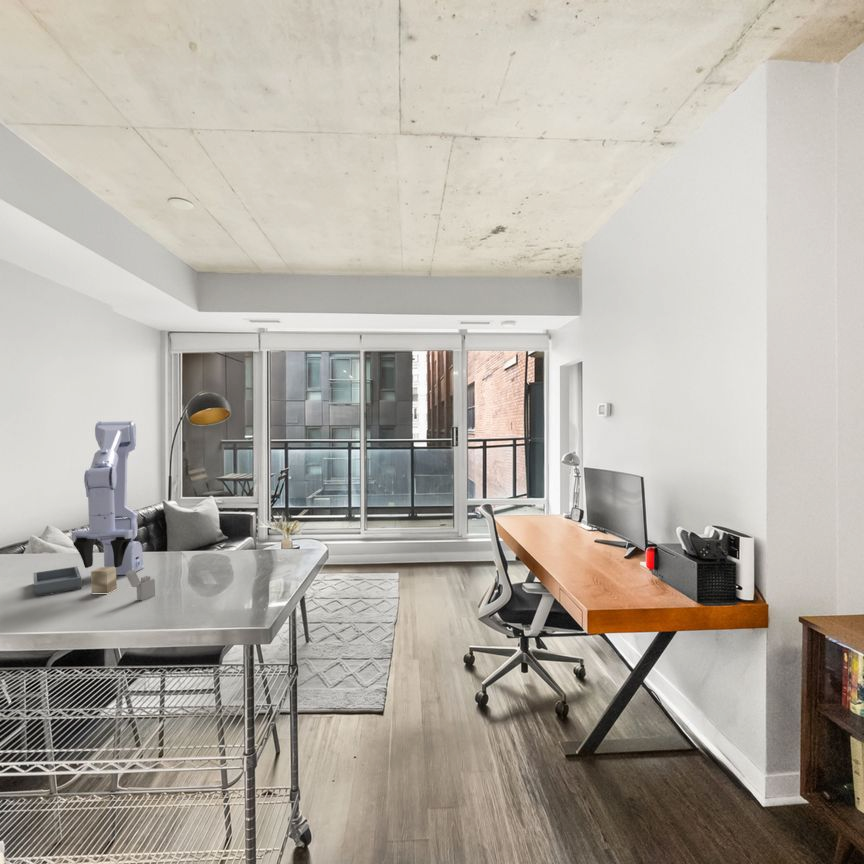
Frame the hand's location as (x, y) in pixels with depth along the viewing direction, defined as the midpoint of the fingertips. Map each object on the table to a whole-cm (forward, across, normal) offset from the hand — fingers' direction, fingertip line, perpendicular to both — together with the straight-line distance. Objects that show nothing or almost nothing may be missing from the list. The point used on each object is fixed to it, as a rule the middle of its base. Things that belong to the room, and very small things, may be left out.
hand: (103, 566), depth 140 cm
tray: (+6, -16, +6) cm, 18 cm away
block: (+7, 0, 0) cm, 7 cm away
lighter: (+7, +13, -6) cm, 16 cm away
